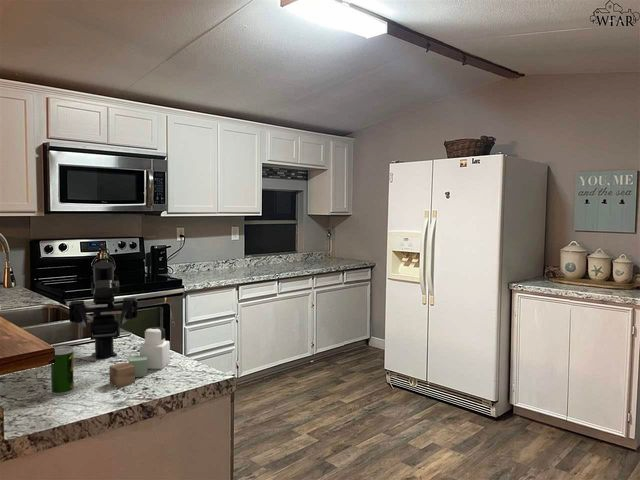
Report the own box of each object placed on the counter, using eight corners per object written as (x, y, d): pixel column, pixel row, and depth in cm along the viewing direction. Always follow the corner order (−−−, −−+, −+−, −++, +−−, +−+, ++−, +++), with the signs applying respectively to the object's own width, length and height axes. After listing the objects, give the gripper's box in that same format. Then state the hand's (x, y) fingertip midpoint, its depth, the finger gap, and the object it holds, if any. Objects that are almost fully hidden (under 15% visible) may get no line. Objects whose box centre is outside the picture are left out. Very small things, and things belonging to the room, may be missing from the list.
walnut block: (109, 383, 142) (109, 366, 142) (126, 379, 146) (126, 362, 146) (117, 387, 139) (117, 370, 139) (134, 383, 143) (134, 366, 142)
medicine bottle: (148, 361, 162) (147, 325, 161) (170, 362, 162) (169, 325, 161) (139, 368, 155) (139, 330, 154) (162, 369, 155) (162, 331, 154)
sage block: (128, 372, 151) (128, 356, 151) (146, 371, 153) (146, 354, 153) (129, 378, 147) (129, 361, 146) (147, 376, 149) (147, 359, 148)
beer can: (52, 397, 131) (51, 352, 130) (50, 390, 136) (49, 347, 135) (75, 393, 134) (74, 349, 133) (72, 387, 139) (71, 344, 138)
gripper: (69, 276, 150) (66, 302, 137) (135, 273, 157) (139, 298, 144) (71, 308, 154) (68, 336, 141) (135, 304, 162) (138, 331, 148)
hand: (104, 324), depth 144 cm, fingers open, 9 cm apart
